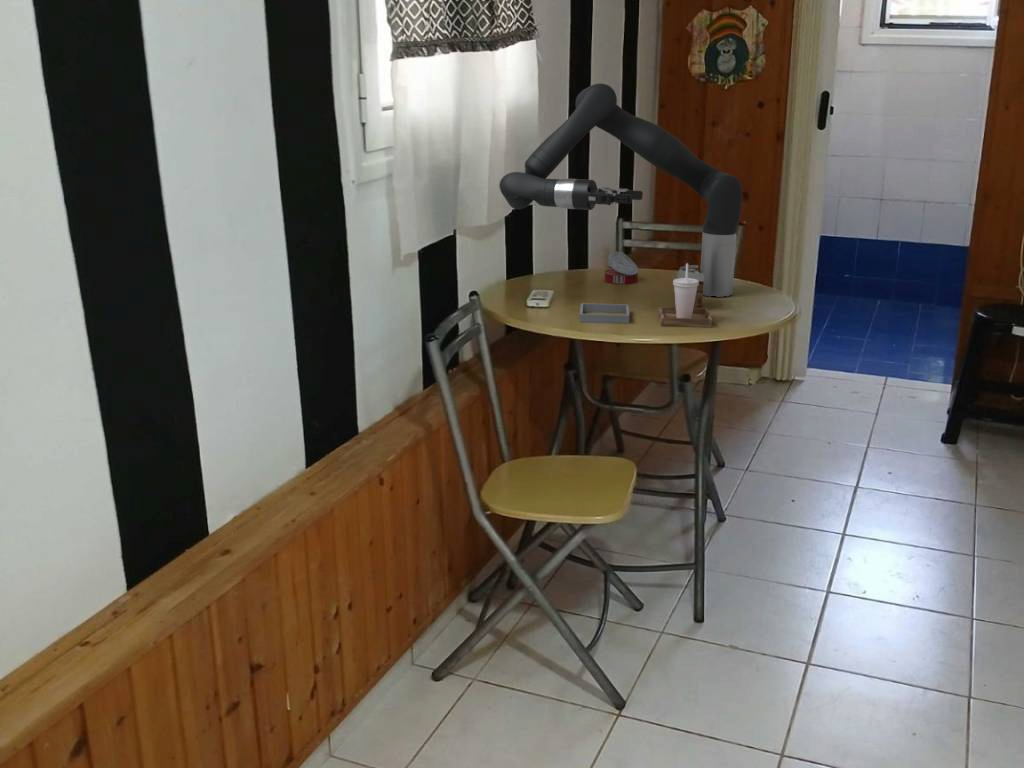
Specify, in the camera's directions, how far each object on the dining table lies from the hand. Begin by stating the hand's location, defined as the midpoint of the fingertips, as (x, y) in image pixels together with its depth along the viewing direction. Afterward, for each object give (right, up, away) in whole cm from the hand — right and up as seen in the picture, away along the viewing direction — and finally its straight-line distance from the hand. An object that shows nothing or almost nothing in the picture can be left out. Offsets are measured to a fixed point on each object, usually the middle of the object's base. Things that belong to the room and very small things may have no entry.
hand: (636, 197), depth 258 cm
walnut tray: (+12, -30, +3) cm, 33 cm away
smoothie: (+12, -30, +3) cm, 32 cm away
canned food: (+1, -16, +50) cm, 53 cm away
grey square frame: (-8, -29, +6) cm, 31 cm away
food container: (+16, -26, +19) cm, 36 cm away
